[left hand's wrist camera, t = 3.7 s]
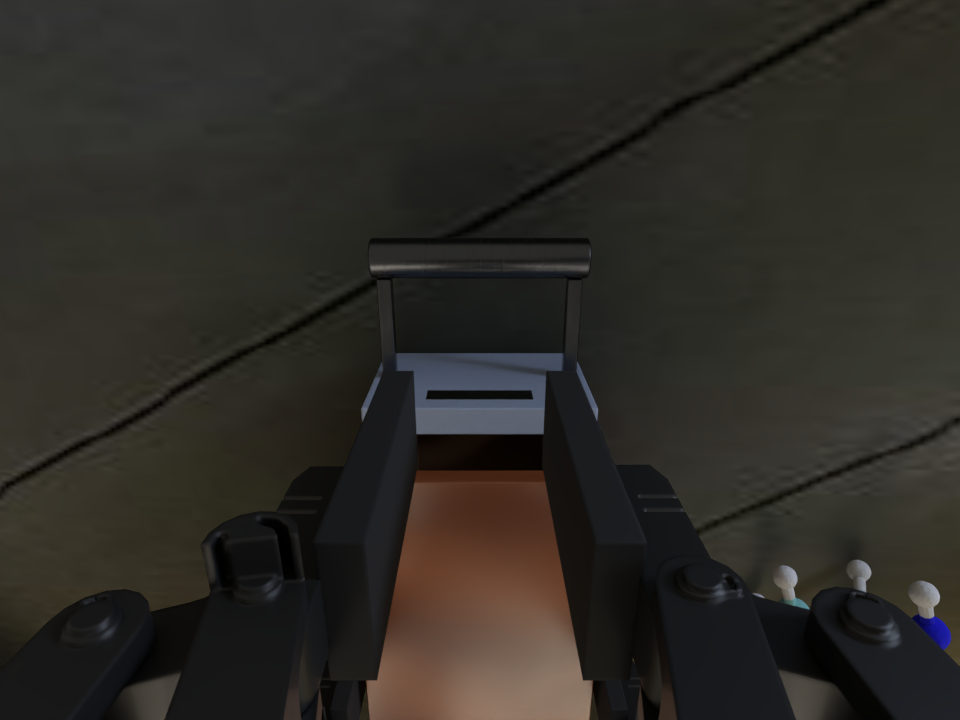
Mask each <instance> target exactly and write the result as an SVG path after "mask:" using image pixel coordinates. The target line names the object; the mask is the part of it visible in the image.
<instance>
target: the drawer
mask: <svg viewBox="0 0 960 720" xmlns="http://www.w3.org/2000/svg"><path fill="white" fill-rule="evenodd" d="M368 265H369V271H370V275H371V277H372V278H378V279H377V293H378V308H379V323H380V338H381V354H382V362H381V365H380V367H379V369H378V372H377V374H376V376H375V378H374V381H373V383H372V385H371V388H370V390H369V392H368V394H367V397H366V399H365V401H364V403H363V406H362V408H361V415H362V422H363V419H364V417H365V415H366V412H367V410H368V407H369V405H370V402H371V400H372V398H373V395H374V393H375V390H376V388H377V386H378V383H379V381H380V378H381V376H382V373H383V371H414V388H415V411H416V433H417V455H418V467H417V471H543V467H542V455H543V433H544V410H545V388H546V371H577V373H578V376H579V378H580V381H581V383H582V386H583V388H584V390H585V393H586V395H587V398H588V400H589V402H590V405H591V407H592V410H593V412H594V415H595V417H596V419H597V417H598V408H597V405H596V403H595V401H594V399H593V396H592V394H591V392H590V389H589V387H588V385H587V382H586V380H585V378H584V376H583V373H582V371H581V369H580V366H579V364H578V362H577V357H578V342H579V327H580V311H581V296H582V279H581V278H587V277H588V275H589V272H590V267H591V245H590V241H589V239H587V238H372V239H370V242H369V246H368ZM393 278H567V281H566V299H565V317H564V335H563V353H397V349H396V331H395V313H394V295H393Z"/></svg>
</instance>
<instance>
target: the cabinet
mask: <svg viewBox="0 0 960 720" xmlns="http://www.w3.org/2000/svg"><path fill="white" fill-rule="evenodd" d="M593 681H594V680H583V679H582V673H581V668H580V663H579V657H578V652H577V647H576V642H575V636H574V631H573V626H572V620H571V615H570V610H569V605H568V599H567V594H566V589H565V583H564V578H563V573H562V568H561V562H560V557H559V552H558V546H557V541H556V536H555V531H554V525H553V520H552V515H551V510H550V504H549V499H548V494H547V488H546V483H545V478H544V473H543V471H417V472H416V478H415V483H414V488H413V494H412V499H411V504H410V509H409V515H408V520H407V525H406V531H405V536H404V541H403V546H402V552H401V557H400V562H399V568H398V573H397V578H396V583H395V589H394V594H393V599H392V605H391V610H390V615H389V620H388V626H387V631H386V636H385V641H384V647H383V652H382V657H381V663H380V668H379V673H378V678H377V680H366V689H367V699H368V709H369V720H590V712H591V702H592V691H593Z"/></svg>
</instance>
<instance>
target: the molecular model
mask: <svg viewBox="0 0 960 720" xmlns="http://www.w3.org/2000/svg"><path fill="white" fill-rule="evenodd" d="M846 571H847V574H848V575H849V577H850V578H851V579H853V589H857V590H861V591H864V592H866V581H867V580H868V579H869V578H870V576H871V570H870V567H869V566H868V565H867V564H866V563H865V562H863V561H860V560H852V561H850V562H849V563H848V565H847V567H846ZM772 577H773V580H774V582H775V584H776V585H777V586H778V587H780V588H781V591H782V595H783V598H782V599H781V600H779V601H778V602H780V603H784V604H789V605H793V606H797V607H802V608H806V609H809V607H808V606H807V605H806V604H805V603H804V602H803V601H801V600H800V599H797V598H795V593H794V589H793V587H795V585H796V583H797V575H796V572H795V571H794V570H793V569H792V568H790V567H788V566H784V565H781V566H777V567H776V568H775V569H774V571H773V573H772ZM752 594H754V595H756V596H759V597H762V598H764V597H763V596H762V595H760V594H757V593H752ZM908 594H909V597H910V598H911V600H912V601H913V602H914V603H915V604H917V605H918V612H919V614H918V615H915V616H914V617H913V618H912V619H913V620H914V621H915V622H916V623H917V624H918V625H919V626H920V627H921V628H922V629H923V630H924V631H925V632H926V633H927V634H928V635H929V636H930V637H931V638H932V639H933V640H934V641H935V642H936V643H937V644H938V645H939V646H940V647H941V648H942V649H943V650H944V649H945V648H947V646H948V645H949V643H950V641H951V634H950V631H949V629H948V628H947V626H946V625H945V624H944V622H942V621H941V620H940V619H938V618H937V617H935V616H934V610H933V607H934V606H936V605H937V604H938V603H939V601H940V595H939V592H938V590H937V589H936V588H935V587H934V586H933V585H932V584H930V583H928V582H925V581H916V582H913V583H912V584H911V585H910V586H909V588H908Z"/></svg>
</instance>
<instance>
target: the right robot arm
mask: <svg viewBox="0 0 960 720" xmlns="http://www.w3.org/2000/svg"><path fill="white" fill-rule="evenodd" d="M319 686H320V693H321V700H322V717H321V720H359V717H360V712H361V707H362V703H363V698H364V693H365V688H366V680H330V674H329V666H328V660H327V661H326V664H325V667H324V671H323V674H322V678H321V681H320V684H319ZM640 686H641V682H640V678H639V675H638V671H637V668H636V665H635V664H634V662H633V661H632V666H631V674H630V680H594V681H593V692H594V697H595V702H596V707H597V712H598V717H599V720H636V715H637V707H638V700H639V693H640Z"/></svg>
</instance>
